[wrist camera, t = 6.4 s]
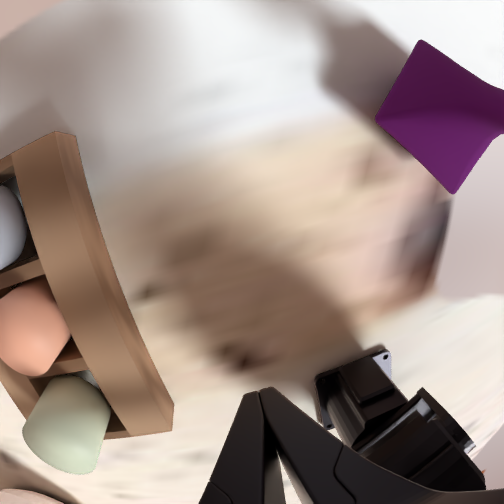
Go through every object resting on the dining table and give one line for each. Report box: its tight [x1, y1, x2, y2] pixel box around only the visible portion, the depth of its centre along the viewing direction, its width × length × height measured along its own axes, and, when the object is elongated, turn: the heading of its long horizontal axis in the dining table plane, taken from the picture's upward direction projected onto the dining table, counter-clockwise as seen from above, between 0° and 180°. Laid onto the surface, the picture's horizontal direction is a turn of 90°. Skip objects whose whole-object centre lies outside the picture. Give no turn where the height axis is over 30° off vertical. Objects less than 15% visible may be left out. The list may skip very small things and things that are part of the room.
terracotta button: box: [0, 274, 72, 376], centre depth 16 cm, size 5×5×5 cm
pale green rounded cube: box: [22, 375, 111, 475], centre depth 16 cm, size 5×5×5 cm
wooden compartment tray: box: [0, 131, 174, 440], centre depth 17 cm, size 20×12×3 cm, turn 14°
